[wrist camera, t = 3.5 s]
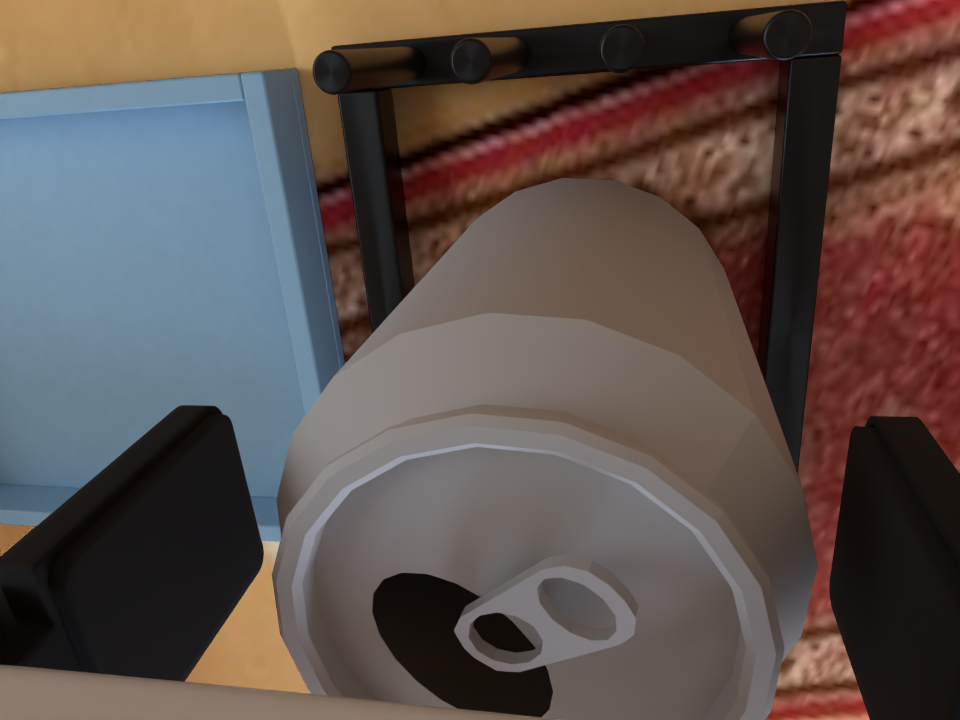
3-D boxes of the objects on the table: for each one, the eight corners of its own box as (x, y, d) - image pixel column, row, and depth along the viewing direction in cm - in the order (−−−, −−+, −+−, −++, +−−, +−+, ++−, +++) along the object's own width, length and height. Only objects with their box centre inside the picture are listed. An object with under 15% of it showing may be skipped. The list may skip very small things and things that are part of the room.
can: (390, 301, 20) (110, 596, 10) (594, 103, 17) (516, 213, 7) (571, 483, 22) (501, 927, 11) (792, 329, 19) (1003, 736, 8)
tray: (297, 67, 18) (262, 71, 17) (369, 510, 24) (348, 546, 22) (-181, 107, 22) (-251, 114, 20) (-26, 489, 27) (-71, 520, 25)
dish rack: (833, 2, 16) (936, -16, 10) (780, 543, 21) (828, 717, 16) (348, 45, 18) (222, 49, 13) (412, 522, 23) (344, 668, 18)
